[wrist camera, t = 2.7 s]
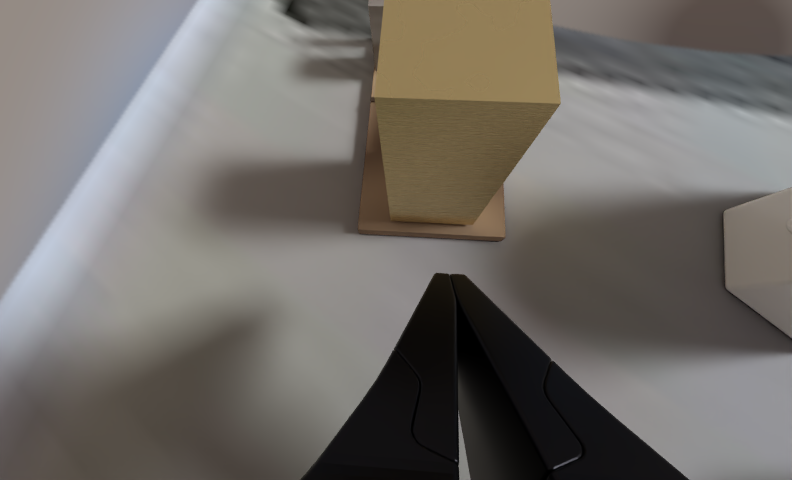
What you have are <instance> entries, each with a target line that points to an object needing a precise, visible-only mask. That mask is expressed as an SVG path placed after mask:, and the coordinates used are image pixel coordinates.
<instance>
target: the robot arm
mask: <svg viewBox="0 0 792 480" xmlns="http://www.w3.org/2000/svg"><path fill="white" fill-rule="evenodd" d="M458 410H459V416H460V421H461V427H462V433H463V438H464V444H465V450H466V455H467V461H468V467H469V472H470V478H471V480H689V479H688V478H687V477H685V476H684V475H683V474H682V473H681V472H679V471H678V470H677V469H676V468H675V467H674V466H672V465H671V464H670V463H669V462H668V461H666V460H665V459H664V458H663V457H662V456H660V455H659V454H658V453H657V452H656V451H654V450H653V449H652V448H651V447H650V446H649V445H647V444H646V443H645V442H644V441H643V440H641V439H640V438H639V437H638V436H637V435H635V434H634V433H633V432H632V431H631V430H630V429H628V428H627V427H626V426H625V425H624V424H622V423H621V422H620V421H619V420H618V419H616V418H615V417H614V416H613V415H612V414H611V413H610V412H608V411H607V410H606V409H605V408H604V407H603V406H601V405H600V404H599V403H598V402H597V401H596V400H595V399H593V398H592V397H591V396H590V395H589V394H588V393H587V392H586V391H585V390H583V389H582V388H581V387H580V386H579V385H578V384H577V383H576V382H575V381H574V380H573V379H572V378H571V377H570V376H568V375H567V374H566V373H565V372H564V371H563V370H562V369H561V368H560V367H559V366H558V365H557V364H556V363H555V362H554V361H551V358H550V357H549V356H548V355H547V354H546V353H545V352H544V351H543V350H542V349H541V348H539V347H538V346H537V345H536V344H535V343H534V342H533V341H532V340H531V339H530V338H529V337H528V336H527V335H526V334H525V333H524V332H523V331H522V330H521V329H520V328H519V327H518V326H517V325H516V324H515V323H514V322H513V321H512V320H511V319H510V318H509V317H508V316H507V315H506V314H505V313H504V312H503V311H501V310H500V309H499V308H498V307H497V306H496V305H495V304H494V303H493V302H492V301H491V300H490V299H489V298H488V297H487V296H486V295H485V294H484V293H483V292H482V291H481V290H480V289H479V288H478V287H477V286H476V285H475V284H474V283H473V282H472V281H471V280H470V279H469V278H468V277H467V276H465V275H462V274H451V275H449V274H444V273H435V274H434V276H433V278H432V279H431V281H430V283H429V285H428V287H427V289H426V291H425V292H424V294H423V296H422V298H421V300H420V302H419V304H418V305H417V307H416V309H415V311H414V313H413V315H412V317H411V318H410V320H409V322H408V324H407V326H406V328H405V330H404V331H403V333H402V335H401V337H400V339H399V341H398V342H397V344H396V346H395V348H394V350H393V351H392V353H391V355H390V357H389V359H388V361H387V362H386V364H385V366H384V367H383V369H382V371H381V373H380V374H379V376H378V378H377V379H376V381H375V382H374V384H373V385H372V387H371V388H370V389H369V391H368V392H367V394H366V395H365V397H364V398H363V400H362V401H361V402H360V404H359V405H358V406H357V408H356V409H355V410H354V412H353V413H352V414H351V416H350V417H349V418H348V420H347V421H346V422H345V424H344V425H343V426H342V428H341V429H340V430H339V432H338V433H337V435H336V436H335V437H334V439H333V440H332V441H331V443H330V444H329V445H328V447H327V448H326V449H325V451H324V452H323V453H322V455H321V456H320V457H319V458H318V460H317V461H316V462H315V463H314V465H313V466H312V467H311V468H310V469H309V470H308V472H307V473H306V474H305V475H304V476H303V477H302V478H301V479H300V480H459V467H458V465H459V432H458Z"/></svg>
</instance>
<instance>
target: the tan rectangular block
mask: <svg viewBox="0 0 792 480" xmlns="http://www.w3.org/2000/svg"><path fill="white" fill-rule="evenodd" d="M374 98H375V105H376V113H377V121H378V128H379V136H380V143H381V151H382V158H383V166H384V174H385V181H386V189H387V196H388V204H389V212H390V219H391V221H406V222H425V223H444V224H464V225H473V224H474V223H475V221H476V220H477V218H478V217H479V216H480V214H481V213H482V212H483V210H484V209H485V207H486V206H487V205H488V203H489V202H490V201H491V199H492V198H493V196H494V195H495V194H496V192H497V191H498V189H499V188H500V187H501V185H502V184H503V183H504V181H505V180H506V178H507V177H508V176H509V174H510V173H511V172H512V170H513V169H514V167H515V166H516V165H517V163H518V162H519V160H520V159H521V158H522V156H523V155H524V154H525V152H526V151H527V149H528V148H529V147H530V145H531V144H532V143H533V141H534V140H535V138H536V137H537V136H538V134H539V133H540V131H541V130H542V129H543V127H544V126H545V125H546V123H547V122H548V120H549V119H550V118H551V116H552V115H553V114H554V112H555V111H556V109H557V108H558V107H559V105H560V104H561V102H560V92H559V82H558V73H557V63H556V53H555V44H554V34H553V25H552V15H551V5H550V0H384V7H383V17H382V27H381V37H380V47H379V57H378V67H377V77H376V87H375V97H374Z"/></svg>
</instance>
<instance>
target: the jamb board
mask: <svg viewBox="0 0 792 480" xmlns="http://www.w3.org/2000/svg"><path fill="white" fill-rule="evenodd" d="M383 7H384V0H369V5H368V8H369V16H370V25H371V34H372V43H373V52H374V61H375V67H374V76H373V86H372V95H371V105H370V115H369V124H368V134H367V144H366V153H365V163H364V173H363V182H362V192H361V202H360V211H359V221H358V231H359V233H360V234H376V235H394V236H413V237H431V238H450V239H468V240H487V241H501V240H503V239H504V238H505V214H504V188H503V184H502V185H501V187H500V188H499V189H498V191H497V192H496V194H495V195H494V196H493V198H492V199H491V201H490V202H489V203H488V205H487V206H486V207H485V209H484V210H483V212H482V213H481V214H480V216H479V217H478V218H477V220H476V221H475V223H474V224H473V225H464V224H444V223H425V222H406V221H391V219H390V212H389V204H388V196H387V189H386V181H385V174H384V166H383V158H382V151H381V143H380V136H379V128H378V121H377V113H376V105H375V98H374V97H375V87H376V77H377V67H378V57H379V47H380V37H381V27H382V17H383Z"/></svg>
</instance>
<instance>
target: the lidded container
mask: <svg viewBox="0 0 792 480" xmlns="http://www.w3.org/2000/svg"><path fill="white" fill-rule="evenodd" d="M723 225H724V260H725V287H726V289H727V290H728V291H729V292H731V293H732V294H733V295H735V296H736V297H737V298H739V299H740V300H741V301H743V302H744V303H745V304H747V305H748V306H749V307H751V308H752V309H753V310H755V311H756V312H757V313H759V314H760V315H761V316H762V317H764V318H765V319H766V320H768V321H769V322H770V323H772V324H773V325H774V326H776V327H777V328H778V329H780V330H781V331H782V332H784V333H785V334H786V335H788V336H789V337H790V338H792V187H790V188H787V189H784V190H782V191H779V192H776V193H773V194H770V195H767V196H764V197H761V198H758V199H755V200H752V201H749V202H747V203H744V204H741V205H738V206H735V207H732V208H729V209H727V210H725V211H724V213H723Z"/></svg>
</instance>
